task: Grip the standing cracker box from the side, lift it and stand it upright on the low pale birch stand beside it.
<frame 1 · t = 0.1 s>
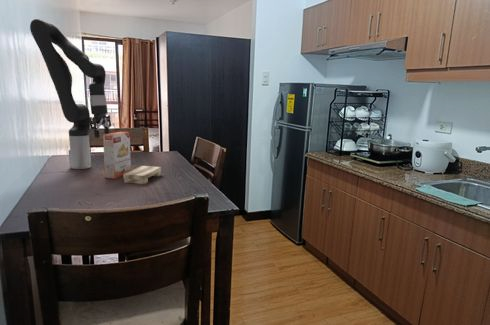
hand: (102, 136, 166), 17 cm above the table, tool pointing down, fingers open, 8 cm apart
cracker box: (118, 175, 159), on the table
birch stand: (143, 178, 155), on the table
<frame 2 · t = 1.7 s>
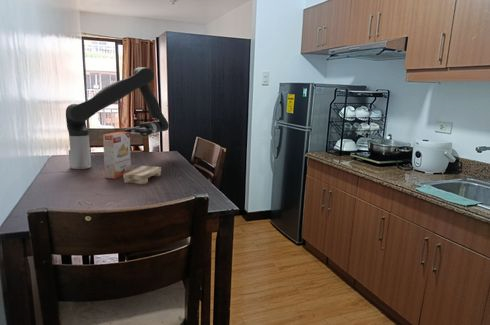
hand: (132, 132, 169), 20 cm above the table, tool horizontal, fingers open, 8 cm apart
nothing on the table moved.
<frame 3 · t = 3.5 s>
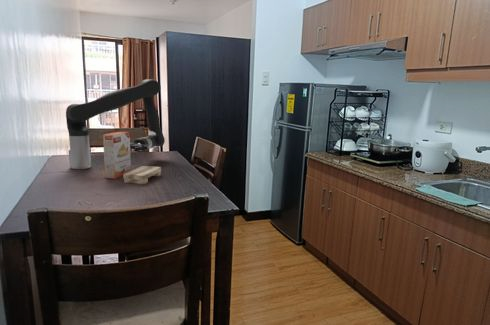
hand: (127, 149, 165), 12 cm above the table, tool horizontal, fingers open, 8 cm apart
nothing on the table moved.
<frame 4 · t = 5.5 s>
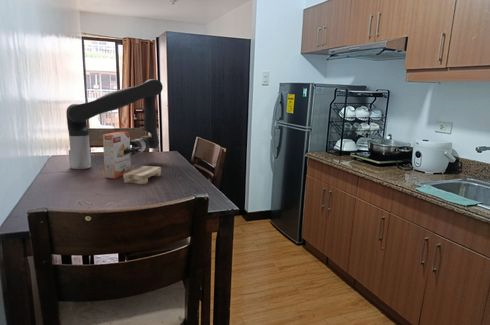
hand: (118, 152, 157), 12 cm above the table, tool horizontal, fingers closed on cracker box, 6 cm apart
cracker box: (118, 175, 159), on the table, touching gripper
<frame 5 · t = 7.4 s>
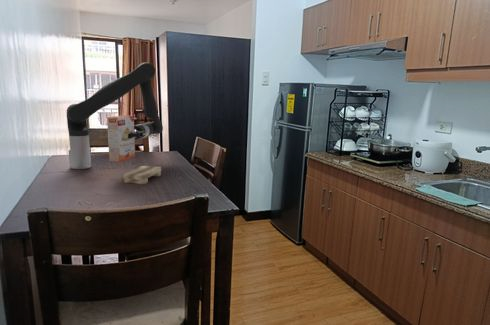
hand: (122, 135, 155), 20 cm above the table, tool horizontal, fingers closed on cracker box, 6 cm apart
cracker box: (123, 160, 157), point 8 cm above the table, touching gripper
when the fingers open (17 cm above the table, at t = 9.4 s): cracker box drops 1 cm, resting on birch stand.
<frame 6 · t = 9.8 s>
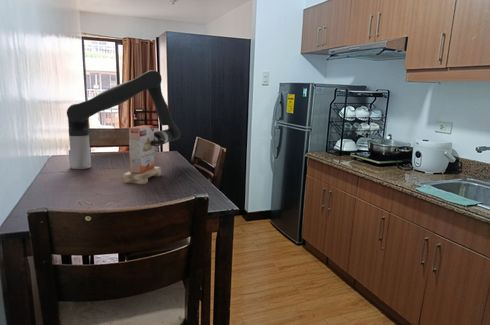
hand: (143, 143, 152), 17 cm above the table, tool horizontal, fingers open, 8 cm apart
cracker box: (143, 170, 154), point 4 cm above the table, touching birch stand
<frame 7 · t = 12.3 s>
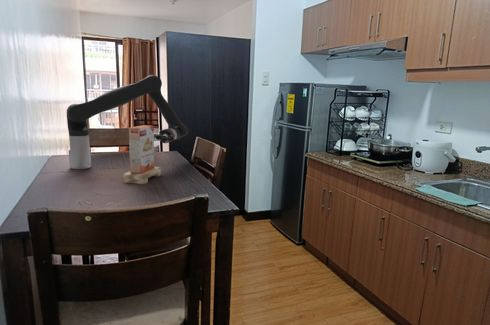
hand: (154, 139, 164), 17 cm above the table, tool horizontal, fingers open, 8 cm apart
nothing on the table moved.
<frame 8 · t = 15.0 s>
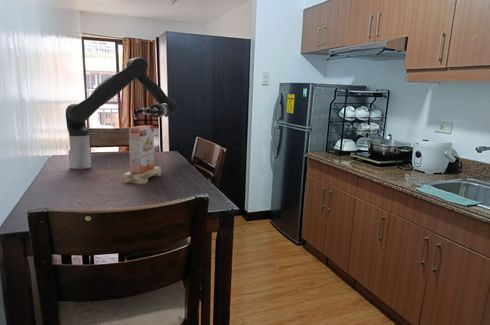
hand: (144, 112, 170), 30 cm above the table, tool horizontal, fingers open, 8 cm apart
nothing on the table moved.
at the end: cracker box inside the target area (0.4 cm from its centre), point 3.8 cm above the table; cracker box tilted 0°; the gripper is holding nothing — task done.
